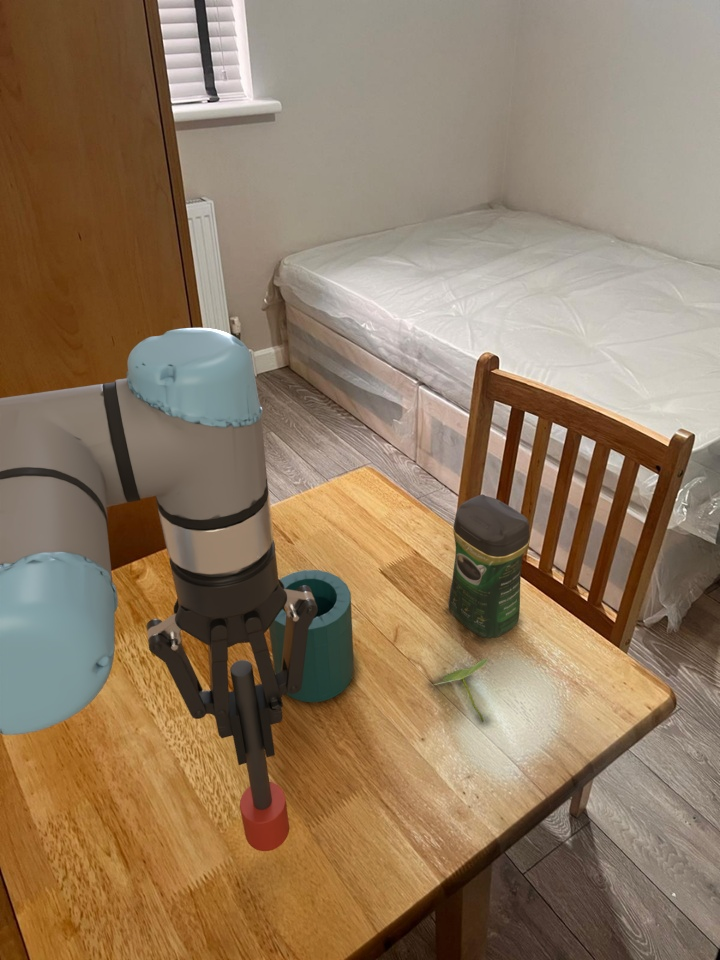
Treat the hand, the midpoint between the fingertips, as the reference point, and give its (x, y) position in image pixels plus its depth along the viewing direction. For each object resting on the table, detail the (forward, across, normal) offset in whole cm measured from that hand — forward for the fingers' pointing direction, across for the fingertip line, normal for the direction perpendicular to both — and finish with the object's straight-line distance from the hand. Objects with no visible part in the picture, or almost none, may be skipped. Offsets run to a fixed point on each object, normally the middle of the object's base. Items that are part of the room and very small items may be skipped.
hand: (254, 747), depth 65 cm
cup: (+18, -10, -22) cm, 30 cm away
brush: (+13, 0, 0) cm, 13 cm away
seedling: (+18, -26, -12) cm, 34 cm away
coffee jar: (+18, -35, -24) cm, 46 cm away
